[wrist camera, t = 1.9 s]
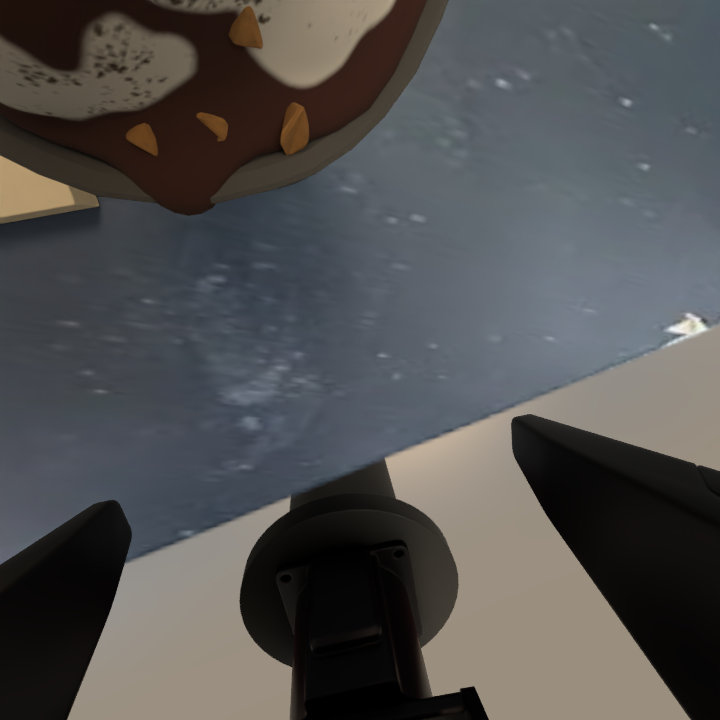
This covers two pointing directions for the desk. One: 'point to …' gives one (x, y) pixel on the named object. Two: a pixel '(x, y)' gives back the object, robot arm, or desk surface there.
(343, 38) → the sundae
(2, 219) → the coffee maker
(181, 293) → the desk surface
